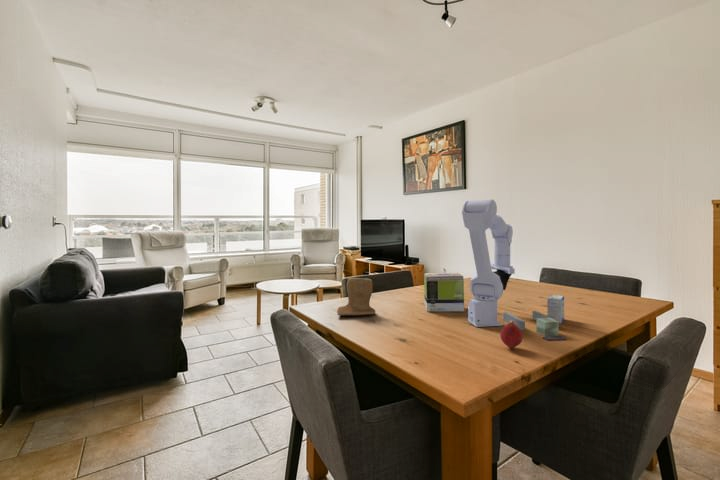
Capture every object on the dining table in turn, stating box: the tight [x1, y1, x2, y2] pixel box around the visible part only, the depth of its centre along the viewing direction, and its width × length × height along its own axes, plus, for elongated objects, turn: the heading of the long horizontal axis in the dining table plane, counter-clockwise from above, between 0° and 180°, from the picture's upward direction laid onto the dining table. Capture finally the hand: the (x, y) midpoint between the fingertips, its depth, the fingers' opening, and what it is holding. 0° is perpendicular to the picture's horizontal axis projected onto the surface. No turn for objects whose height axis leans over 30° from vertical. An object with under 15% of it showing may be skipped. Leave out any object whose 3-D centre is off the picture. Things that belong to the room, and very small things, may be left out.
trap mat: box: [542, 335, 567, 342], centre depth 104 cm, size 6×2×1 cm, turn 95°
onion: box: [499, 320, 524, 350], centre depth 97 cm, size 6×6×8 cm
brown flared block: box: [336, 277, 376, 317], centre depth 136 cm, size 15×12×15 cm
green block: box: [535, 318, 560, 337], centre depth 109 cm, size 4×4×4 cm
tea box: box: [423, 272, 465, 312], centre depth 142 cm, size 15×10×15 cm, turn 84°
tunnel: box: [502, 310, 557, 331], centre depth 120 cm, size 12×12×3 cm
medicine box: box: [546, 294, 565, 325], centre depth 123 cm, size 8×4×9 cm, turn 143°
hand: (502, 289), depth 134 cm, fingers closed
